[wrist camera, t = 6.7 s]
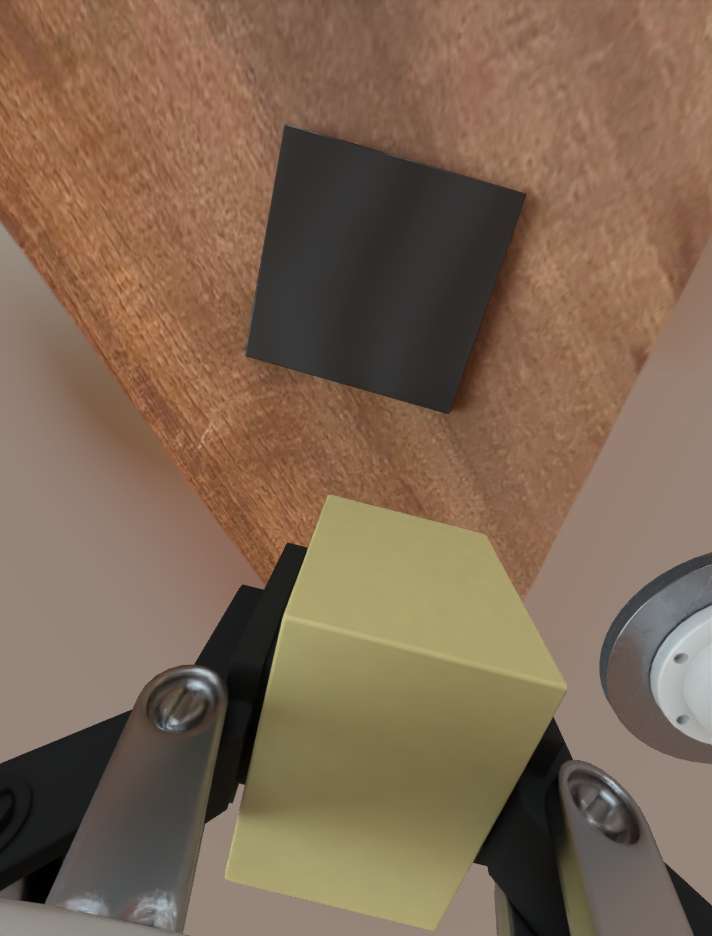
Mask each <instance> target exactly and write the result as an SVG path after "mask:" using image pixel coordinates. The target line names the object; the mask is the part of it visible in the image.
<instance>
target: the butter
mask: <svg viewBox="0 0 712 936" xmlns="http://www.w3.org/2000/svg"><path fill="white" fill-rule="evenodd" d="M567 690H568V687H567V684H566V682H565V680H564V678H563V677H562V675H561V673H560V671H559V669H558V667H557V666H556V664H555V662H554V660H553V658H552V656H551V654H550V652H549V651H548V649H547V647H546V645H545V643H544V641H543V639H542V638H541V636H540V634H539V632H538V630H537V628H536V627H535V625H534V623H533V621H532V619H531V617H530V615H529V614H528V612H527V610H526V608H525V606H524V604H523V602H522V601H521V599H520V597H519V595H518V593H517V591H516V589H515V588H514V586H513V584H512V582H511V580H510V578H509V577H508V575H507V573H506V571H505V569H504V567H503V565H502V564H501V562H500V560H499V558H498V556H497V554H496V552H495V551H494V549H493V547H492V545H491V543H490V541H489V539H488V538H487V536H486V535H485V534H482V533H478V532H474V531H470V530H467V529H463V528H459V527H455V526H451V525H447V524H443V523H439V522H435V521H431V520H427V519H423V518H420V517H416V516H412V515H408V514H404V513H400V512H396V511H392V510H388V509H384V508H380V507H376V506H373V505H369V504H365V503H361V502H357V501H353V500H349V499H345V498H341V497H337V496H333V495H328V496H327V499H326V502H325V504H324V507H323V510H322V512H321V515H320V518H319V520H318V523H317V526H316V529H315V531H314V534H313V537H312V539H311V542H310V545H309V547H308V550H307V553H306V555H305V558H304V561H303V564H302V566H301V569H300V572H299V574H298V577H297V580H296V582H295V585H294V588H293V591H292V593H291V596H290V599H289V601H288V604H287V607H286V609H285V612H284V615H283V618H282V623H281V627H280V631H279V636H278V640H277V645H276V649H275V654H274V658H273V662H272V667H271V671H270V676H269V680H268V685H267V689H266V694H265V698H264V702H263V707H262V711H261V716H260V720H259V725H258V729H257V734H256V738H255V742H254V747H253V751H252V756H251V760H250V765H249V769H248V774H247V778H246V782H245V787H244V792H243V796H242V800H241V805H240V809H239V813H238V818H237V822H236V827H235V831H234V836H233V840H232V845H231V849H230V853H229V858H228V862H227V867H226V871H225V879H226V880H228V881H232V882H236V883H241V884H245V885H249V886H253V887H257V888H261V889H265V890H269V891H273V892H277V893H281V894H286V895H290V896H294V897H298V898H302V899H306V900H310V901H315V902H318V903H322V904H327V905H331V906H335V907H339V908H343V909H347V910H351V911H355V912H359V913H363V914H368V915H372V916H376V917H380V918H384V919H388V920H392V921H396V922H400V923H404V924H408V925H412V926H417V927H421V928H425V929H429V930H433V931H434V930H436V929H437V927H438V925H439V923H440V922H441V920H442V918H443V916H444V914H445V912H446V910H447V909H448V907H449V905H450V903H451V902H452V900H453V898H454V896H455V894H456V892H457V891H458V889H459V887H460V885H461V883H462V882H463V880H464V878H465V876H466V874H467V872H468V871H469V869H470V867H471V865H472V863H473V862H474V860H475V858H476V856H477V854H478V852H479V851H480V849H481V847H482V845H483V843H484V842H485V840H486V838H487V836H488V834H489V832H490V831H491V829H492V827H493V825H494V823H495V822H496V820H497V818H498V816H499V814H500V812H501V811H502V809H503V807H504V805H505V803H506V802H507V800H508V798H509V796H510V794H511V792H512V791H513V789H514V787H515V785H516V783H517V782H518V780H519V778H520V776H521V774H522V772H523V771H524V769H525V767H526V765H527V763H528V762H529V760H530V758H531V756H532V754H533V752H534V751H535V749H536V747H537V745H538V743H539V742H540V740H541V738H542V736H543V734H544V732H545V731H546V729H547V727H548V725H549V723H550V722H551V720H552V718H553V716H554V714H555V712H556V710H557V709H558V707H559V705H560V703H561V701H562V700H563V698H564V696H565V694H566V692H567Z"/></svg>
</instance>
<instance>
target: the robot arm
mask: <svg viewBox="0 0 712 936" xmlns="http://www.w3.org/2000/svg"><path fill="white" fill-rule="evenodd" d="M306 553H307V547H303V546H299V545H295V544H291V543H287V544H286V546H285V548H284V550H283V552H282V554H281V556H280V558H279V560H278V562H277V565H276V567H275V569H274V571H273V573H272V575H271V577H270V579H269V581H268V583H267V585H266V587H265V589H264V590H263V589H259V588H255V587H251V586H247V585H242V586H241V587H240V588H239V590H238V591H237V593H236V595H235V596H234V598H233V600H232V602H231V603H230V605H229V607H228V608H227V610H226V612H225V613H224V615H223V617H222V619H221V621H220V622H219V624H218V625H217V627H216V629H215V630H214V632H213V634H212V635H211V637H210V639H209V640H208V642H207V644H206V646H205V647H204V649H203V651H202V652H201V654H200V656H199V657H198V659H197V661H196V662H195V664H194V665H181V666H177V667H174V668H170V669H168V670H166V671H164V672H162V673H160V674H158V675H156V676H155V677H154V678H153V679H152V680H151V681H150V682H148V683H147V684H146V685H145V687H144V688H143V690H142V692H141V693H140V695H139V696H138V698H137V700H136V703H135V705H134V707H133V709H132V710H130V711H127V712H125V713H122V714H120V715H118V716H115V717H113V718H110V719H108V720H105V721H103V722H100V723H98V724H95V725H93V726H91V727H88V728H86V729H83V730H81V731H79V732H76V733H74V734H71V735H69V736H66V737H64V738H62V739H59V740H57V741H54V742H52V743H50V744H47V745H44V746H42V747H39V748H37V749H35V750H32V751H30V752H28V753H25V754H22V755H20V756H18V757H16V758H13V759H10V760H8V761H5V762H3V763H1V764H0V936H188V935H184V934H183V931H184V926H185V921H186V916H187V911H188V906H189V901H190V896H191V892H192V887H193V882H194V877H195V872H196V866H197V861H198V857H199V852H200V847H201V842H202V837H203V832H204V827H205V824H206V823H207V822H209V821H210V820H211V819H213V818H215V817H216V816H218V815H219V814H221V813H222V812H224V811H225V810H227V808H228V804H229V803H233V801H234V798H235V794H236V791H237V788H238V785H239V783H240V784H244V785H245V782H246V778H247V774H248V769H249V765H250V760H251V756H252V751H253V747H254V742H255V738H256V734H257V729H258V725H259V720H260V716H261V711H262V707H263V702H264V698H265V694H266V689H267V685H268V680H269V676H270V671H271V667H272V662H273V658H274V654H275V649H276V645H277V640H278V636H279V631H280V627H281V623H282V618H283V615H284V612H285V609H286V607H287V604H288V601H289V599H290V596H291V593H292V591H293V588H294V585H295V582H296V580H297V577H298V574H299V572H300V569H301V566H302V564H303V561H304V558H305V555H306ZM650 682H651V690H652V693H653V696H654V699H655V702H656V703H657V705H658V706H659V708H660V709H661V711H662V712H663V713H664V715H665V716H666V717H667V719H668V720H669V721H670V722H671V723H672V725H673V726H675V727H676V728H677V729H679V730H680V731H681V732H683V733H684V734H685V735H687V736H689V737H691V738H693V739H696V740H698V741H700V742H703V743H707V744H711V745H712V605H711V606H709V607H707V608H705V609H703V610H701V611H699V612H697V613H695V614H694V615H692V616H691V617H690V618H688V619H687V620H685V621H684V622H682V623H681V624H680V625H679V626H678V627H677V628H676V629H675V630H674V631H673V632H672V633H671V634H670V635H669V636H668V637H667V638H666V640H665V641H664V642H663V644H662V645H661V647H660V648H659V650H658V652H657V654H656V656H655V659H654V661H653V664H652V669H651V674H650ZM473 863H476V864H481V865H485V866H487V867H488V872H489V875H490V876H491V877H492V878H493V880H494V881H495V891H494V895H495V910H496V927H497V936H712V905H711V904H710V903H708V902H707V901H706V900H705V899H704V898H703V897H702V896H701V895H700V894H699V893H697V892H696V891H695V890H694V889H693V888H692V887H691V886H690V885H689V884H688V883H687V882H685V881H684V880H683V879H682V878H681V877H680V876H679V875H678V874H677V873H676V872H675V871H673V870H672V869H671V868H670V867H669V866H668V865H667V864H666V863H665V862H664V861H663V859H662V856H661V854H660V852H659V849H658V847H657V844H656V842H655V839H654V837H653V834H652V832H651V830H650V827H649V825H648V822H647V821H646V819H645V817H644V815H643V813H642V811H641V809H640V807H639V806H638V805H637V804H636V802H635V801H634V799H633V798H632V797H631V796H630V794H629V793H628V792H627V791H626V790H625V789H624V788H623V787H622V786H621V785H620V784H619V783H618V782H617V781H616V780H615V779H614V778H612V777H611V776H609V775H608V774H606V772H604V771H603V770H601V769H600V768H598V767H596V766H594V765H592V764H590V763H587V762H584V761H580V760H573V759H572V756H571V754H570V752H569V750H568V748H567V746H566V743H565V741H564V739H563V737H562V735H561V732H560V730H559V728H558V726H557V724H556V721H555V719H554V717H553V718H552V720H551V722H550V723H549V725H548V727H547V729H546V731H545V732H544V734H543V736H542V738H541V740H540V742H539V743H538V745H537V747H536V749H535V751H534V752H533V754H532V756H531V758H530V760H529V762H528V763H527V765H526V767H525V769H524V771H523V772H522V774H521V776H520V778H519V780H518V782H517V783H516V785H515V787H514V789H513V791H512V792H511V794H510V796H509V798H508V800H507V802H506V803H505V805H504V807H503V809H502V811H501V812H500V814H499V816H498V818H497V820H496V822H495V823H494V825H493V827H492V829H491V831H490V832H489V834H488V836H487V838H486V840H485V842H484V843H483V845H482V847H481V849H480V851H479V852H478V854H477V856H476V858H475V860H474V862H473Z"/></svg>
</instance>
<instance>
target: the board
mask: <svg viewBox="0 0 712 936" xmlns="http://www.w3.org/2000/svg"><path fill="white" fill-rule="evenodd" d="M525 197H526V194H525V193H522V192H518V191H515V190H511V189H508V188H505V187H501V186H498V185H494V184H491V183H487V182H484V181H480V180H477V179H474V178H470V177H467V176H463V175H460V174H456V173H453V172H449V171H446V170H443V169H439V168H436V167H432V166H429V165H425V164H422V163H419V162H415V161H412V160H408V159H405V158H401V157H398V156H394V155H391V154H388V153H384V152H381V151H377V150H374V149H370V148H367V147H363V146H360V145H357V144H353V143H350V142H346V141H343V140H339V139H336V138H332V137H329V136H326V135H322V134H319V133H315V132H312V131H308V130H305V129H301V128H298V127H295V126H291V125H288V124H285V126H284V131H283V137H282V143H281V149H280V154H279V160H278V166H277V172H276V177H275V183H274V189H273V195H272V200H271V206H270V212H269V218H268V223H267V229H266V235H265V241H264V246H263V252H262V258H261V264H260V269H259V275H258V281H257V287H256V292H255V298H254V304H253V310H252V315H251V321H250V327H249V333H248V338H247V344H246V350H245V356H247V357H251V358H254V359H257V360H261V361H264V362H268V363H271V364H275V365H278V366H282V367H285V368H289V369H292V370H296V371H299V372H303V373H306V374H310V375H313V376H317V377H320V378H324V379H327V380H331V381H334V382H338V383H341V384H345V385H348V386H352V387H355V388H359V389H362V390H366V391H369V392H373V393H376V394H380V395H383V396H387V397H390V398H394V399H397V400H401V401H404V402H408V403H411V404H415V405H418V406H422V407H425V408H429V409H432V410H435V411H439V412H442V413H446V414H449V413H450V411H451V408H452V405H453V402H454V399H455V396H456V394H457V391H458V388H459V385H460V382H461V379H462V377H463V374H464V371H465V368H466V365H467V362H468V359H469V357H470V354H471V351H472V348H473V345H474V342H475V340H476V337H477V334H478V331H479V328H480V325H481V323H482V320H483V317H484V314H485V311H486V308H487V305H488V303H489V300H490V297H491V294H492V291H493V288H494V286H495V283H496V280H497V277H498V274H499V271H500V268H501V266H502V263H503V260H504V257H505V254H506V251H507V249H508V246H509V243H510V240H511V237H512V234H513V232H514V229H515V226H516V223H517V220H518V217H519V214H520V212H521V209H522V206H523V203H524V200H525Z"/></svg>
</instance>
